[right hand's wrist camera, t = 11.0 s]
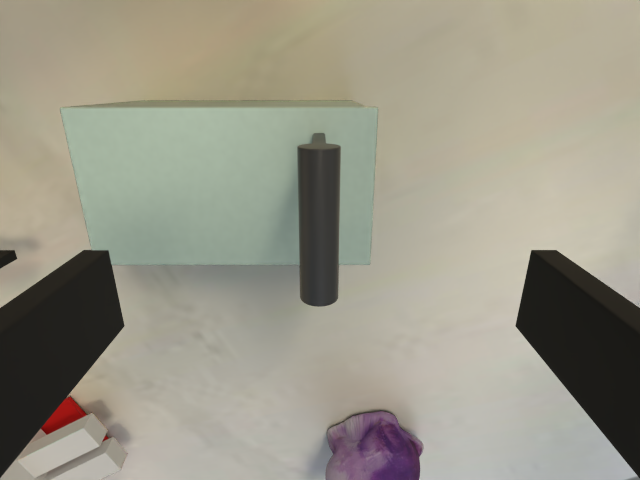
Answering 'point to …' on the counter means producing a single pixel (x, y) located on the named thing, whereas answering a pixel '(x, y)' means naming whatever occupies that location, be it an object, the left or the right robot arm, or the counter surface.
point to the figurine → (373, 449)
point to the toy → (68, 449)
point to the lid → (229, 186)
